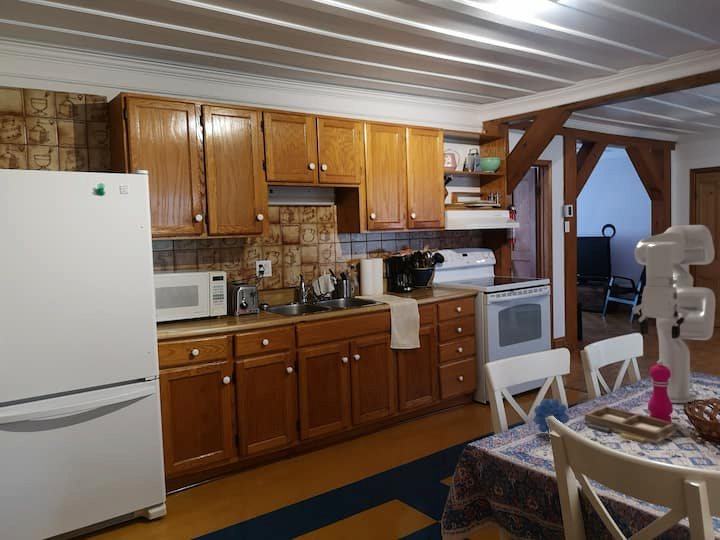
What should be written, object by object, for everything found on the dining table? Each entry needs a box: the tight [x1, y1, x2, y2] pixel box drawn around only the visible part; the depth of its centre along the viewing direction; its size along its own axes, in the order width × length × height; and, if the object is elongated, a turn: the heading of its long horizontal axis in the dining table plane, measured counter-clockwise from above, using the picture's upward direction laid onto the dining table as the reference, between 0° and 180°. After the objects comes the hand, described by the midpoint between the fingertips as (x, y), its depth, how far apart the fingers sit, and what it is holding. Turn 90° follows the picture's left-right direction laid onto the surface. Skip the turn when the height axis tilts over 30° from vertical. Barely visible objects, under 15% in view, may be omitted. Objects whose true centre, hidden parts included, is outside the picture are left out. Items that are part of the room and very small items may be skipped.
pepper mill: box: [647, 359, 674, 422], centre depth 182 cm, size 7×7×20 cm
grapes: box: [533, 397, 570, 434], centre depth 176 cm, size 12×7×12 cm, turn 43°
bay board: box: [584, 405, 677, 444], centre depth 178 cm, size 14×23×3 cm, turn 36°
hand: (659, 336), depth 181 cm, fingers open, 9 cm apart
